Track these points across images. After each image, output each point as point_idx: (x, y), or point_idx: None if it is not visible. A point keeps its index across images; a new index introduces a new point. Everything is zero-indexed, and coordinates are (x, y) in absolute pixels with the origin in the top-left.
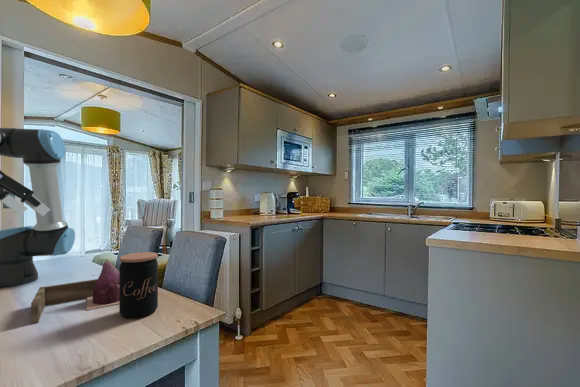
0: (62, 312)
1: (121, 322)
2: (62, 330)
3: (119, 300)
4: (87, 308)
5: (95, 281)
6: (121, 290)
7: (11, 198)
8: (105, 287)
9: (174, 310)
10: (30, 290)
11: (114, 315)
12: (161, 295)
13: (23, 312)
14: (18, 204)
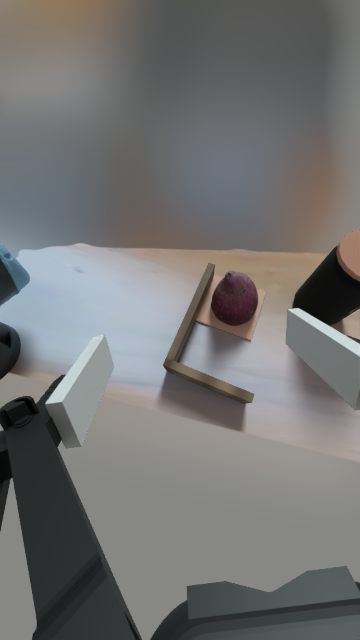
0: (229, 362)
1: None
2: (304, 386)
3: (320, 316)
4: (248, 338)
5: (199, 300)
6: (345, 311)
7: (78, 391)
8: (253, 306)
9: None
10: (70, 354)
11: None
12: (272, 261)
13: (180, 394)
14: (94, 363)
